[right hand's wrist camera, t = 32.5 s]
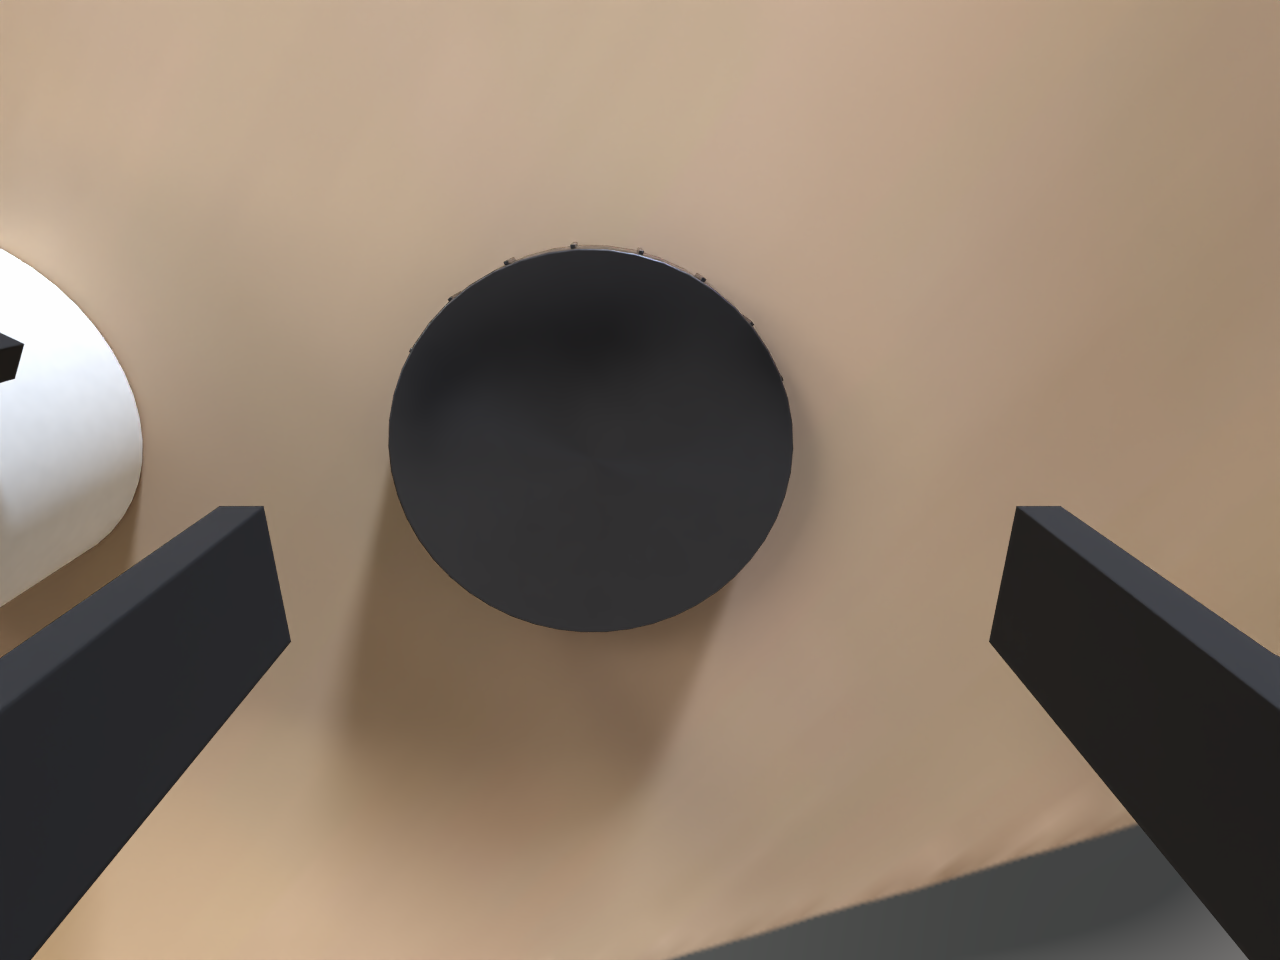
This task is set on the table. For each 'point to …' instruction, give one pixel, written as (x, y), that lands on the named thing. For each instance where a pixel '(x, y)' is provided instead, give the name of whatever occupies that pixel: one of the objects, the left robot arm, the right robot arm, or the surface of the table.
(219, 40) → the table surface
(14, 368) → the left robot arm
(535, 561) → the lid
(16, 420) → the jar
